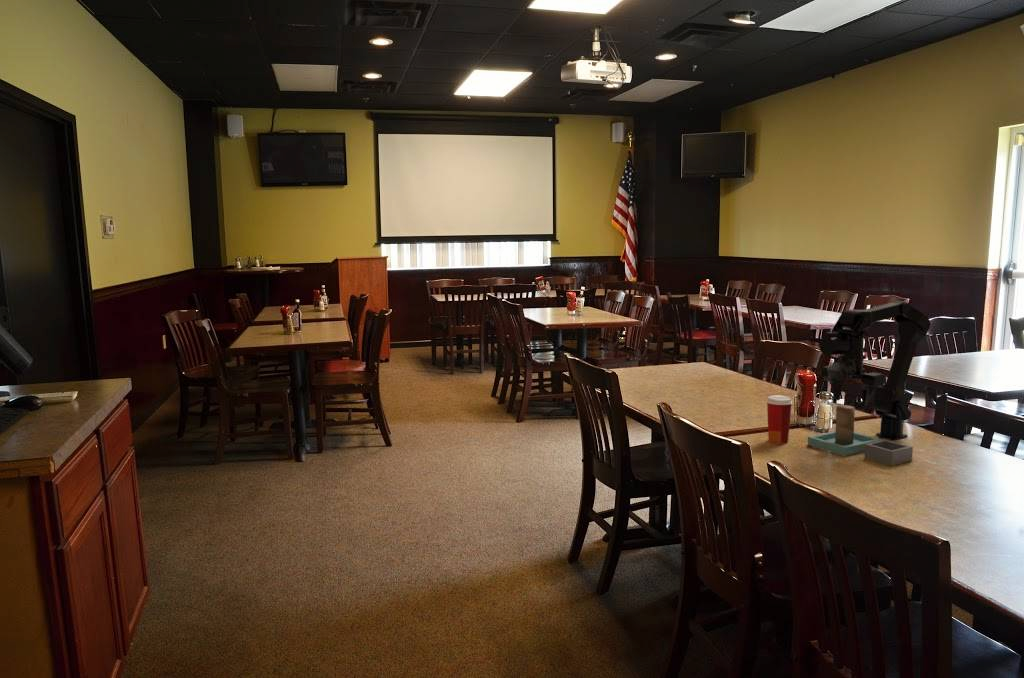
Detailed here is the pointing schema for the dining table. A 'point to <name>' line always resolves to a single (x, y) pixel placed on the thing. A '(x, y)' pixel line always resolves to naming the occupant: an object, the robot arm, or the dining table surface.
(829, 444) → the tray
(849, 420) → the pepper mill
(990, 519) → the dining table surface
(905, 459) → the holder
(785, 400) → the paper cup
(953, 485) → the dining table surface
